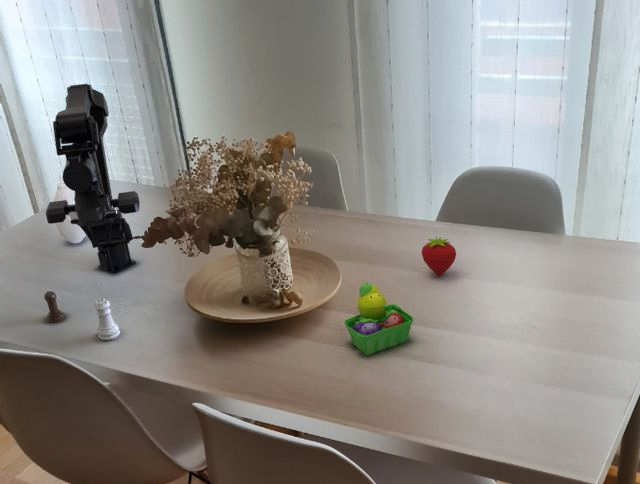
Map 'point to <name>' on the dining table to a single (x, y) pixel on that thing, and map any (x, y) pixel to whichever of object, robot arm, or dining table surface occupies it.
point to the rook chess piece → (106, 321)
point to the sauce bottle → (65, 228)
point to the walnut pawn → (53, 308)
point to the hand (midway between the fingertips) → (102, 244)
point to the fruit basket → (377, 322)
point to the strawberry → (439, 255)
